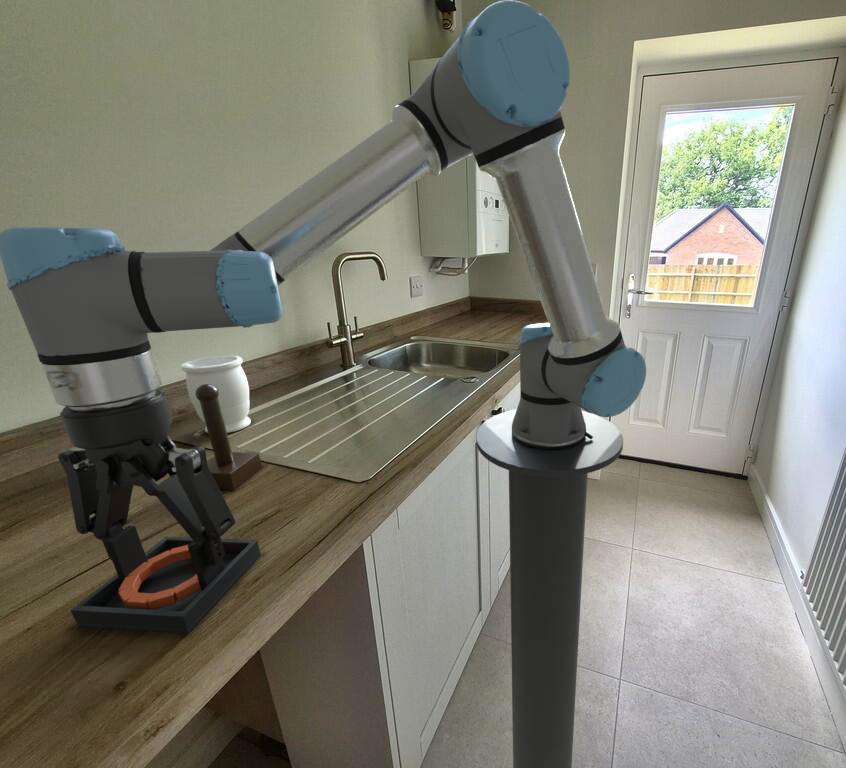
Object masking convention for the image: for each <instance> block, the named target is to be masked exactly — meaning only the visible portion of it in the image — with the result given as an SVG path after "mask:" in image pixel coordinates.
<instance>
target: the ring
mask: <svg viewBox="0 0 846 768" xmlns="http://www.w3.org/2000/svg"><path fill="white" fill-rule="evenodd" d="M188 558H191V555H190V552H189V549H188V545H185V546H181V547H177V548H173V549H171V551H169V550H167V551H165V552H163V553H161V554H159V555H157V556H155V557H153V558H151V559H149V560H147V562H144V563H143V564H141V565H140V566H139V567H138V568H136V569H135V570H134V571H132V572H131V573H130V574H129V575H128V577H125V579H124V581H123V583H122V585H121V586H120V588H119V590H118V591H119V592H118V594H119V596H120V599H121V601H122V602H123V604H124V605H125V607H126V608H128V609H146V610H156V609H159V608H163V607H166V606H170V605H173V604H176V601H178V602H180V601H182V600H184V599H185V598H187V597H189V596H191V595H192V594H194V593H196V592H198V591H199V590H201V587H200V583H199V580H198V577H197V574H196V575H195V576H194V577H193V578H191V579H189V580H187V581H185V582H184V583H182V584H180V585H178V586H176V587H174V588H171V589H168V590H164V591H161V592H157V593H138V592H137V591H138V589H139V587H140V585H141V583H142V582H143V581H144V580H145V579H147V578H148V577H149V576H150V575H151V574H153V573H154V572H155V571H157V570H159V569H161V568H163V567H165V566H167V565H169V564H171V563H173V562H177V561H181V560H185V559H188Z"/></svg>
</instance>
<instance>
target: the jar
mask: <svg viewBox="0 0 846 768" xmlns="http://www.w3.org/2000/svg"><path fill="white" fill-rule="evenodd" d="M242 364H243V357H242V356H240V355H214V356H208V357H201V358H197V359H193V360H190V361H189V360H188V361H187V362H184V363H182V364H181V365H180V366H181V370H182V371H183V372H184V373H186V377H185V383H186V390H187V394H188V397H189V399H190V402H191V404H192V405H193V407H194V410H195V412H196V414H197V416H198V418H199V419H200V420H201V421H202V422H203V424H206V423H205V419H204V416H203V412H202V408H201V405H200V401H199V400H198V399H197V398H196V395H195V392H196V389H197V388H198V387H199V386H201V385H203V384H211V385H214V386H215V387H216V388H217V389H218V391H219V396H218V400H219V404H220V408H221V412H222V416H223V420H224V423H225V427H226V431H227V434H230V433H234V432H237V431H240V430H243V429H244V428H247V427H248V426H250V425H251V423H252V420H251V418H250V417H249V416H248V415H249V412H250V406H251V405H250V387H249V382H248V378H247V374H246V373H245V371H244V369H243V367H242ZM204 431H205V433H206V434H208V430H207V427H206V426H204Z"/></svg>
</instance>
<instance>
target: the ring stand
mask: <svg viewBox="0 0 846 768" xmlns="http://www.w3.org/2000/svg"><path fill="white" fill-rule="evenodd" d="M195 395H196V398H197V399H198V400H199V401H200V405H201V408H202V412H203V416H204V419H205V423H204V424H205V427H207V430H208V433H207V434H208V438H209V441H210V445H211V449H212V452H213V457H211V458H209V459H207V466H208V468H209V470H210V472H211V474H212V476H213V478H214V480H215V482H216V484H217V486H218V488H219V490H231V491H232V490H233V491H234V490H236V489H237V488H239V487H240V486H241V485H242V484H244V483H245V482H246V481H247V480H249V479H250V478H251V477H252V476H254V475H255V474H256V473H257V472H259V471H260V470H261V469H262V468H263V465H262V462H261V457H260V453H259V452H240V451H239V452H238V451H237V452H236V451H232V448H231V443H230V440H229V436H228V433H227V431H226V427H225V423H224V420H223V416H222V412H221V408H220V404H219V400H218V396H219V391H218V389H217V388H216V387H215V386H214V385H211V384H203V385H201V386H199V387H198V388H197V389H196V392H195Z"/></svg>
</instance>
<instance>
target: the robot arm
mask: <svg viewBox="0 0 846 768" xmlns="http://www.w3.org/2000/svg"><path fill="white" fill-rule="evenodd" d="M570 75H571V73H570V62H569V57H568V53H567V50H566V47H565V44H564V42H563V40H562V38H561V36H560V34H559V32H558V31H557V29H556V28H555V26H554V25H553V23H552V22H551V21H550V20H549V19H548V18H547V17H546V16H545V15H544V14H543V13H540V12H538V11H537V10H535V8H533V6H532V5H530V4H528V3H525V2H523V1H520V0H499V1H497V2H494V3H492V4H490V5H488V6H487V7H486V8H484V9H483V10H482V11H481V12H480V13H479V14H478V15H477V16H475V17H473V18H471V19H470V20H469V21H468V22H467V23H466V24H465V26H464V27H463V29H462V31H461V33H460V35H459V36H458V37H457V39H456V40H455V41H454V42H453V43H452V44H451V46H450V47H449V48H448V50H447V51H446V52H445V53H444V54H443V55H442V56H441V57H440V58H439V60H438V61H437V63H436V64H435V65H434V66H433V67H432V69H431V71H430V72H429V73H428V75H426V77H425V78H424V80H423V81H422V82H421V83H420V85H419V86H417V88H416V89H415V90H413V92H412V93H411V94H410V95H409V96H408V97H406V98H405V99H404V100H403V101H401V102H399V103H398V104H397V105H396V106H394V107H393V108H392V111H391V112H392V114H391V120H390V121H389V122H387V123H386V124H385V125H384V126H381V128H380V129H378V130H376V131H375V132H374V133H372V134H371V135H370V136H368V137H367V138H365V139H364V140H363V141H361V142H359V143H358V144H357V145H355V146H354V147H353V148H351V149H350V150H348V151H347V152H346V153H344V154H343V155H342V156H340V157H338V158H337V159H336V160H334V161H333V162H332V163H330V164H329V165H328V166H326V167H324V169H322V170H321V171H319V172H317V173H316V174H315V175H314V176H312V177H311V178H310V179H307V181H305V182H304V183H303V184H301V185H300V186H298V187H297V188H295V189H294V190H293V191H291V192H290V193H289V194H288V195H286V196H284V197H283V198H282V199H280V200H279V201H277V202H276V203H275V204H273V205H271V206H270V207H269V208H268V209H266V210H265V211H264V212H262V213H261V214H259V215H258V216H256V217H255V218H254V219H252V220H251V221H250V222H248V223H247V224H245V225H244V226H243V227H241V228H240V229H239V230H237V231H236V232H234V233H233V234H232V235H230V236H228V237H227V238H225V239H224V240H222V241H221V242H220V243H217V245H216V246H214V247H213V248H211V249H210V250H186V251H156V252H151V251H150V252H145V251H135V250H126V248H125V246H124V245H122V243H121V240H120V237H119V236H118V235H117V234H116V233H115V232H114V231H112V230H110V229H105V228H91V227H90V228H88V227H51V226H50V227H49V226H47V227H46V226H36V227H35V226H23V227H21V226H20V227H18V226H17V227H10V228H6V229H4V230H2V231H0V259H1V263H2V265H3V270H4V273H5V276H6V279H7V283H6V286H7V288H8V291H11V294H12V296H13V299H14V301H15V303H16V306H17V308H18V310H19V312H20V315H21V317H22V320H23V323H24V324H25V327H26V330H27V332H28V334H29V337H30V339H31V342H32V344H33V346H34V349H35V352H36V355H37V358H38V360H39V363H41V366H42V368H43V371H44V374H45V376H46V380H47V381H48V385H49V387H50V390H51V393H52V395H53V398H54V401H55V403H56V404H57V405H59V406H63V409H62V410H61V412H60V413H59V416H60V419H61V421H62V424H63V426H64V429H65V431H66V434H67V436H68V439H69V442H70V444H71V445H72V446H74V447H72V448H70V449H68V450H65V451H63V452H61V453H59V454H58V455H57V459H58V461H59V463H60V465H61V466H62V468H63V471H64V472H65V474H66V479H67V485H68V491H69V495H70V501H71V507H72V512H73V518H74V523H75V529H76V531H77V533H79V534H80V535H86V534H89V533H91V534H93V536H94V538H96V539H97V540H99V541H102V545H103V547H104V550H105V551H106V553H107V557H108V558H109V560H110V561H111V562H112V564H113V566H114V569H115V572H116V575H117V574H118V577H119V579H120V582H121V584H122V583H123V581H124V579H125V577H128V575H129V574H130V573H131V572H132V571H134V570H135V569H136V568H138V567H139V566H140V565H141V564H143V563H144V562H147V558H146V555H145V552H146V551H145V549H144V546H143V544H142V541H141V538H140V535H139V532H138V530H137V527H136V525H128V524H130V523H131V522H132V521H133V520H134V519H133V518H131V517H129V511H130V505H131V499H132V494H133V487H134V486H136V487H139V488H142V490H143V491H144V492H145V494H146V495H148V496H150V497H156V498H157V499H158V500H159V502H160V503H161V504H162V505H163V506H164V507H165V509H166V510H167V511H168V512H169V513H170V515H171V516H173V518H174V520H176V522H177V523H178V524H179V525H180V527H181V528H182V529H183V531H185V532H186V533H187V535H188V536H189V537H191V538H192V539H193V541H192V542H191V543H190V544H189V545H188V549H189V552H190V555H191V558H192V561H193V565H194V568H195V571H196V574H197V577H198V580H199V583H200V587H201V590H202V591H203V590H204V589H205V588H206V587H207V586H208V585H209V584H210V583H211V582H212V581H213V580H214V579H215V578H216V577H217V576H218V575H219V574H220V573H221V572H222V571H223V570H224V569H225V567H224V563H223V560H222V558H223V557H224V555H225V552H224V549H223V546H222V541H221V539H222V538H221V537H223V535H225V533H227V532H228V531H229V530H230V529H231V528H232V527H233V526H234V525H235V524H236V519H235V517H234V515H233V513H232V512H231V510H230V507H229V506H228V505H229V504H228V503H227V501H226V500H225V497H224V496H223V493H222V492H221V489H219V488H218V486H217V484H216V482H215V480H214V478H213V476H212V474H211V472H210V470H209V468H208V466H207V461H208V459H207V452H206V449H205V447H203V446H202V445H196V446H194V447H192V448H190V449H189V448H181V447H177V445H176V443H175V442H174V441H173V440H172V439H171V437H170V435H169V432H170V428H171V426H172V424H173V416H172V413H171V410H170V407H169V403H168V400H167V396H166V394H165V392H163V391H161V390H159V389H160V388H161V387H162V385H163V381H162V378H161V375H160V372H159V369H158V365H157V363H156V359H155V356H154V353H153V350H152V346H151V343H150V339H149V336H148V335H149V334H152V333H153V334H159V333H160V334H161V333H165V332H177V331H178V332H179V331H192V330H206V329H207V330H208V329H223V328H238V327H239V328H240V327H242V328H243V329H244V328H251V327H253V326H258V325H265V324H266V325H267V324H273V323H277V322H278V321H280V320H281V319H282V317H283V308H282V301H281V296H280V290H279V286H280V285H282V284H283V283H284V282H285V281H287V280H288V279H289V278H290V277H291V276H293V275H294V274H296V273H297V272H298V271H299V270H301V269H302V268H303V267H305V266H307V265H308V264H309V263H310V262H312V261H313V260H314V259H316V258H317V257H318V256H320V255H321V254H322V253H324V252H325V251H326V250H327V249H328V248H330V247H331V246H333V245H334V244H335V243H337V242H338V241H340V240H341V239H342V238H343V237H344V236H346V235H348V234H349V233H350V232H352V231H353V230H354V229H355V228H357V227H358V226H359V225H360V224H362V223H363V222H364V221H366V220H367V219H368V218H370V217H372V215H374V214H375V213H377V212H378V211H379V210H380V209H382V208H383V207H384V206H386V205H387V204H389V203H390V202H391V201H393V200H394V199H395V198H397V197H398V196H399V195H401V194H402V193H403V192H404V191H406V190H407V189H408V188H410V187H411V186H413V185H414V184H415V183H416V182H418V181H419V180H420V179H422V178H423V177H424V176H426V175H430V176H433V177H437V176H438V175H440V174H441V173H443V172H444V171H445V170H446V169H448V168H449V167H451V166H453V165H454V164H456V163H457V162H460V161H461V160H463V159H466V158H469V157H471V156H473V157H474V159H475V162H476V164H477V167H478V169H479V171H481V172H482V173H485V174H487V175H488V176H490V177H492V178H494V180H495V182H496V184H497V187H498V190H499V192H500V195H501V197H502V201H503V204H504V205H505V209H506V211H507V214H508V217H509V219H510V222H511V225H512V227H513V230H514V233H515V235H516V238H517V241H518V244H519V247H520V248H521V252H522V254H523V258H524V260H525V263H526V265H527V268H528V270H529V274H530V277H531V279H532V282H533V284H534V287H535V289H536V292H537V295H538V297H539V300H540V303H541V306H542V309H543V311H544V315H545V317H546V319H547V322H543V323H534V324H529V325H526V326H523V328H522V329H521V331H520V337H519V343H518V347H519V386H520V387H519V388H520V392H519V393H520V394H519V395H520V398H519V402H518V404H517V408H516V409H517V410H516V413H515V416H514V419H513V422H512V436H513V438H514V439H515V440H516V441H517V442H518V443H520V444H522V445H524V446H527V447H530V448H534V449H540V450H562V449H568V448H571V447H574V446H577V445H579V444H580V443H582V442H583V441H584V439H585V437H586V436H587V437H588V438H589V439H592V438H593V436H591V435H590V434H589V433H587V432H586V424H585V421H584V417H583V414H582V411H585V412H588V413H592V414H595V415H597V416H600V417H602V418H612V417H616V416H618V415H620V414H622V413H624V412H625V411H627V410H628V409H629V408H630V407H631V406H632V405H633V404H634V403H635V401H636V400H638V397H639V396H640V393H641V391H642V389H643V388H644V385H645V382H646V378H647V365H646V364H647V363H646V360H645V357H644V356H643V355H642V354H641V353H640V352H639V351H637V350H636V349H635V348H633V347H627V345H626V344H625V340H624V337H623V333H622V330H621V329H622V328H621V327H620V324H619V322H618V321H617V320H615V319H613V318H610V317H608V316H607V314H606V311H605V308H604V304H603V301H602V297H601V293H600V289H599V286H598V283H597V279H596V276H595V273H594V270H593V265H592V262H591V260H590V255H589V252H588V248H587V245H586V242H585V238H584V235H583V232H582V228H581V225H580V221H579V218H578V214H577V211H576V207H575V204H574V200H573V197H572V194H571V191H570V190H571V189H570V187H569V184H568V180H567V177H566V176H567V175H566V173H565V169H564V166H563V163H562V160H561V156H560V147H561V144H562V142H563V139H564V137H565V134H566V132H567V131H566V127H565V123H564V119H563V115H562V112H561V109H562V107H563V105H564V103H565V101H566V98H567V94H568V93H567V89H568V88H569V86H570V79H571V78H570ZM582 409H583V410H582ZM167 475H169V476H168V477H167V478H166V479H164V478H165V477H166V476H167ZM162 479H164V480H162ZM160 480H162V481H161V482H159V481H160ZM158 482H159V483H158ZM126 525H128V526H126ZM125 526H126V527H125ZM124 527H125V528H124Z"/></svg>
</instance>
